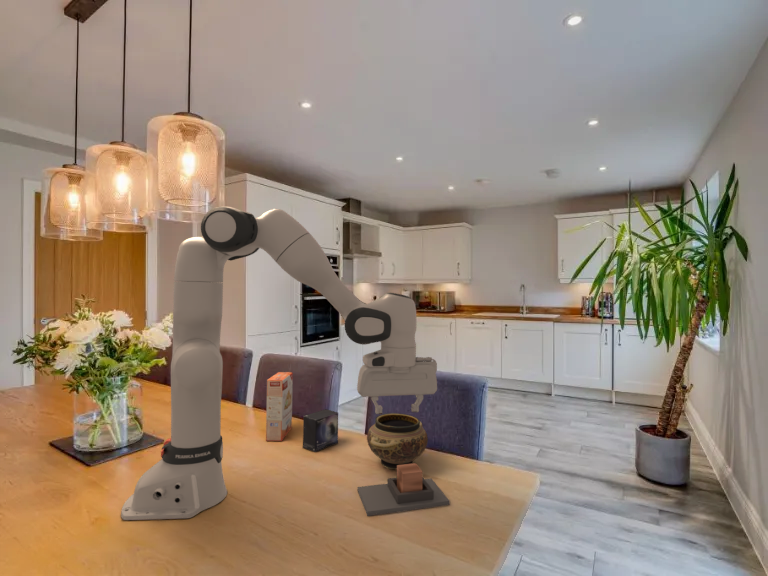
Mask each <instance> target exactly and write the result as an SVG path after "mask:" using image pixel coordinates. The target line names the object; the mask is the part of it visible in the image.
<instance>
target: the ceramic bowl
mask: <svg viewBox="0 0 768 576" xmlns="http://www.w3.org/2000/svg"><path fill="white" fill-rule="evenodd" d="M366 440H367V441H366V442H367V445H368V448H370V450H371V452H372V453H373V454H374V455H375V456H376V457H378V458H379V459H380V463H381V465H382V466H383V467H385V468H387V469H389V470H397V465H404V464H413V462H414V461H416V459H418V458H419V457H420V456H421V455H422V454H423V453H424V452H425V450H426V448H427V447H428V440H429V439H428V434H427V431H426V430H425V428H424V427H423V423H422V421H420V419H419V418H418V417H416V416H412V415H410V414H405V413H399V412H398V413H397V412H389V413H382V414H378V416H376V418H375V423H374V424H372V425H371V426H370V427H369V428H368V431H367V435H366Z"/></svg>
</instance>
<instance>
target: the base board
mask: <svg viewBox="0 0 768 576" xmlns="http://www.w3.org/2000/svg"><path fill="white" fill-rule="evenodd" d="M357 493H358V496H359V499H360V501H361V503H362V504H361V505H362V506H363V509H364V512H365V514H366V517H372V516H377V515H385V514H393V513H400V512H408V511H414V510H422V509H429V508H437V507H445V506H450V503H451V501H450V499H449V498H448V497H447V496H446V494H445V493H444V492H443V490H441V488H440V487H439V486H438V484H437V483H436V482H435V481H434V480H433V478H424V476H422V490H420V491H412V492H404V493H400V492H399V490H398V488H397V476H396V477H390V478H389V477H388V478H387V483H381V484H373V485H365V486H364V485H363V486H357Z"/></svg>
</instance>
